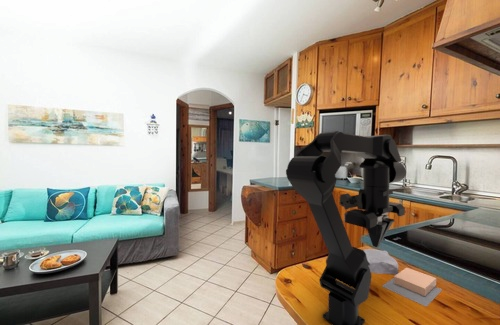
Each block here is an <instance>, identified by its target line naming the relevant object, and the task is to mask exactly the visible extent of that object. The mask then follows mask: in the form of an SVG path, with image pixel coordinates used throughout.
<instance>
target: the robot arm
mask: <svg viewBox="0 0 500 325" xmlns="http://www.w3.org/2000/svg"><path fill="white" fill-rule="evenodd" d="M324 152H328V154H327V155H326V156H324V155H322V154H323V153H324ZM342 153H349V154H350V153H352V154H356V157H360V158H361V159H363V161H362V162H361V163H360V164H359V168H360V169H363V170H362V177H363V178H362V180H363V182H362V188H360V189H359V190H358V194H355V195H350V194H349V193H343V194H339V205H340V206H341V207H343V208H344V210H348V211H346V212H345V213H344V216H343V217H344V219H343V218H342V217H341V213H340V210H339V208H338V205H337V203H336V201H335V198H334V195H333V192H334V191H335V190H334V189H335V187H336V183H337V179H336V174H337V172H338V171H339V169H341V168H340V167H341V166H342V158H341V154H342ZM286 167H287V168H286V170H285V175H286V179H287V180H288V182H289V184H290V185H291V187H292V188H293V189H294V191H295V192H296V193H297V194H298V195H300V196H301V197H302V198H303V199H304V200H305V201H306V202H307V204H308V207H309V209H310V211H311V213H312V216H313V218H314V221H315V223H316V225H317V227H318V230H319V232H320V235H321V237H322V239H323V241H324V245H325V246H326V250H327V251H328V255H327V257H326V260H325V262H326V265H325V267H324V270H323V271H322V273H321V275H320V277H319V279H318V280H319V281H318V282H319V284H320V287H321V288H323V289H325V290H326V291H328V292H329V293H328V295H327V296H328V311H326V312H324V313H323V314H322V318H323V319H324V320H325V321H326V322H328V323H329V324H331V325H364V324H365V323H366V319H365V318H364V317H361V316H360V315H359V306H360V305H361V304H363V303H364V302H365V301H367V300H368V298H369V294H370V293H369V292H370V289H371V288H370V287H371V282H372V273H371V272H370V268H369V266H368V265H370V263H369V262H368V260H367V257H366V253H365V252H364V250H365V249H361V248H359V247H356V246H354V245H353V246H352V243H351V241H350V238H349V235H348V232H347V230H346V227H345V224H344V223H346V224H350V225H354V226H357V227H362V228H365V229H366V231H367V233H368V236H369V238H370V239H369V240H370V242H371V244H372V246H373V248H378V247H380V245H381V244H382V241H383V240H384V238H385V236H386V235H387V233H388V232H389V229H390V228H391V226H392V224H393V223H394V222H395V219H394V218H389V215H388V214H390V213H392V214H396V215H397V216H398V217H403V216H405V215H406V212H405V211H406V207H404V205H403V204H402V203H399V202H392V201H390V195H393V192H394V190H393V189H391V188H390V184H392V183H398V182H401V181H402V180H404V179H405V177H406V175H407V169H406V168H405V165H404V164H402V159H401V155H400V151H399V148H398V146H397V143H396V141H395V139H394V138H393V136H391V135H390V134H380V135H379V134H377V135H367V136H365V135H364V136H363V135H358V134H357V135H356V134H351V133H345V132H342V131H339V130H334V131H325V132H320V133H319V134H316V136H315V137H314V138H313V140H312V141H311V142H309V143H308V144H307V145H305V146H304V147H302V148H301V149H299V151H298V152H297V153H295V155H294V157H292V158H291V159H290V160H289V162H288V164H287V166H286ZM352 208H354V209H352ZM349 209H350V210H349Z"/></svg>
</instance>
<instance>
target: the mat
mask: <svg viewBox="0 0 500 325" xmlns="http://www.w3.org/2000/svg"><path fill="white" fill-rule="evenodd" d="M381 287H383V288H384V289H387V290H389V291H391V292H393V293H396V294H397V295H400V296H402V297H404V298H406V299H408V300H411V301H413V302H415V303H418V304H420V305H422V306H424V307H428V306H429V305H430V303H432V302H433V300H435V298H436V297H437V296H439V294H440V293H441V292H442V291H443V289H442V288H440V287H436V286H435V287H434V288H433V289H432V290H431V291H430V292H429V293H428V294H427V295H426V296H422V295H420V294H417V293H415V292H413V291H410V290H408V289H406V288H403V287H401V286H399V285H396V284H395V283H394V277H393V278H391V279H390V280H388V281H386V282H385V284H382V286H381Z"/></svg>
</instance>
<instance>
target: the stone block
mask: <svg viewBox="0 0 500 325" xmlns="http://www.w3.org/2000/svg"><path fill="white" fill-rule="evenodd" d="M363 250H364V252H365V253H366V257H367V260H368V262H369V263H370V265H368V266H369V268H370V272H371V274H372V273H373V274H379V275H380V274H381V275H383V274H386V275H393V276H395V275H397V274H398V273H400V271H399V270H400V269H399V263H398V262H397V260H396V259H395V258H394V257H392V256H390V254H389V252H388V251H387V250H380V249H375V248H366V249H363Z"/></svg>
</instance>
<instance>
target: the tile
mask: <svg viewBox="0 0 500 325" xmlns="http://www.w3.org/2000/svg"><path fill="white" fill-rule="evenodd" d="M393 278H394V283H395V284H396V285H399V286H401V287H403V288H406V289H408V290H410V291H413V292H415V293H417V294H420V295H422V296H426V295H427V294H428V293H429V292H430V291H431V290H432V289H433V288H434V287H436V286H437V278H436V277H434V276H431V275H429V274H425V273H423V272H421V271H417V270H415V269H412V268H409V267H405V268H404V269H402V270H401V271H399V273H398V274H397V275H393Z"/></svg>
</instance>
